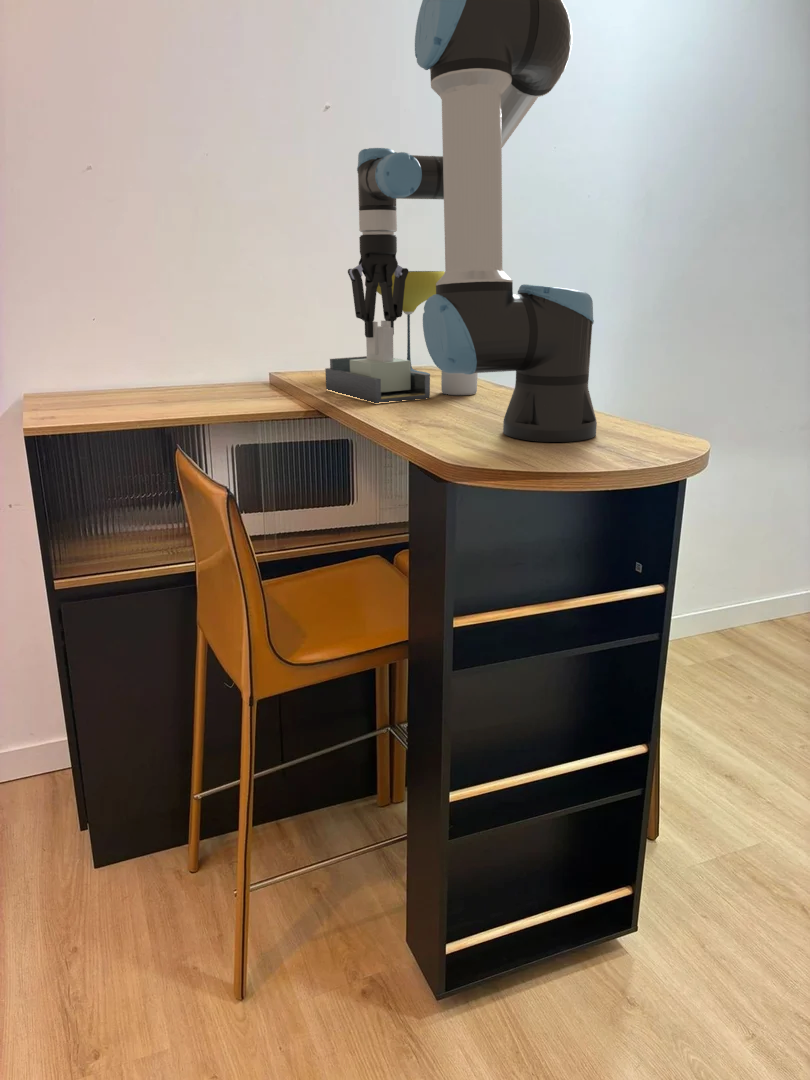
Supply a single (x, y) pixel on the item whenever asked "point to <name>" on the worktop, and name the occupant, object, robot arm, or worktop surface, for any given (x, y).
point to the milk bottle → (458, 383)
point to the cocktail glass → (416, 295)
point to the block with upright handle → (384, 364)
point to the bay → (371, 383)
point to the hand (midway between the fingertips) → (379, 352)
